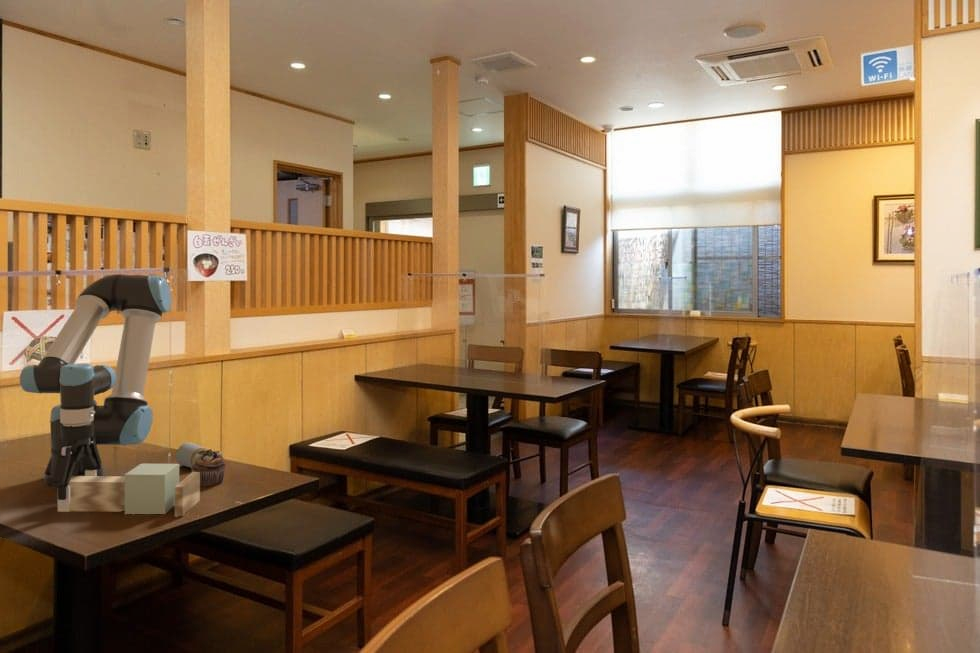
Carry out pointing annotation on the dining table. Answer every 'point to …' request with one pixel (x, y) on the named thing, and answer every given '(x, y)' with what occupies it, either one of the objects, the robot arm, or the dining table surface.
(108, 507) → the light wood rectangular block
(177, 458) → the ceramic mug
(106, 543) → the dining table surface
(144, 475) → the socket block
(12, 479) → the dining table surface
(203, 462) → the cupcake
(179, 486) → the board
